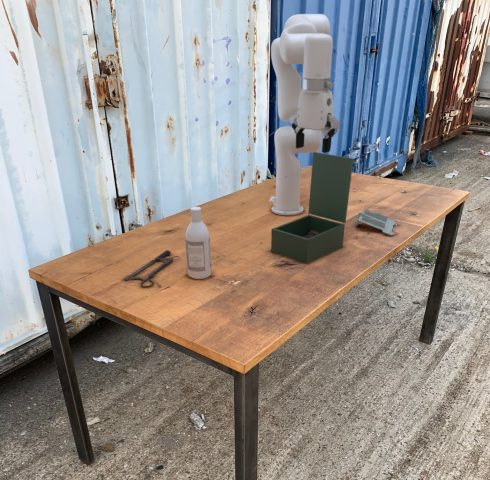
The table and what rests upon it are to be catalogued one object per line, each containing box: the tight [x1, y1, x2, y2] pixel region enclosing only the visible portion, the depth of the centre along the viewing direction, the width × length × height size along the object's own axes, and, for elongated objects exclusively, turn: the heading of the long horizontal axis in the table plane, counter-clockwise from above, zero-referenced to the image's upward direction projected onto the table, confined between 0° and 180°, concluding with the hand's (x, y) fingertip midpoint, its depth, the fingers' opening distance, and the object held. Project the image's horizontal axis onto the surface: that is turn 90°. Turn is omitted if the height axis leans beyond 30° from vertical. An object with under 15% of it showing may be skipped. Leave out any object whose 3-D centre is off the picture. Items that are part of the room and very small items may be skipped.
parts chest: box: [270, 214, 346, 265], centre depth 162 cm, size 19×15×8 cm
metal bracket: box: [354, 208, 398, 236], centre depth 181 cm, size 14×6×15 cm
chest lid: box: [307, 151, 354, 224], centre depth 163 cm, size 20×15×5 cm
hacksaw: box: [124, 249, 181, 288], centre depth 151 cm, size 24×10×2 cm, turn 153°
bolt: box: [304, 231, 322, 239], centre depth 163 cm, size 6×5×15 cm
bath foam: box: [184, 206, 212, 280], centre depth 143 cm, size 7×7×20 cm
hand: (312, 149), depth 148 cm, fingers open, 9 cm apart
